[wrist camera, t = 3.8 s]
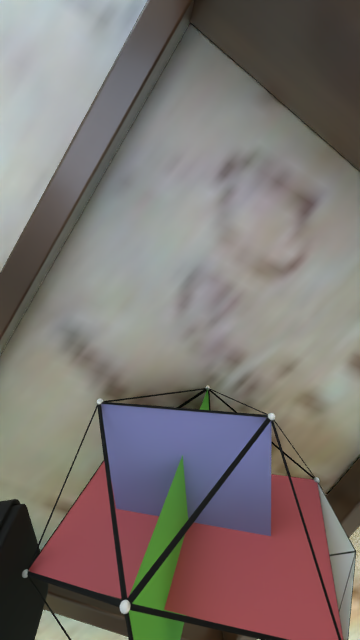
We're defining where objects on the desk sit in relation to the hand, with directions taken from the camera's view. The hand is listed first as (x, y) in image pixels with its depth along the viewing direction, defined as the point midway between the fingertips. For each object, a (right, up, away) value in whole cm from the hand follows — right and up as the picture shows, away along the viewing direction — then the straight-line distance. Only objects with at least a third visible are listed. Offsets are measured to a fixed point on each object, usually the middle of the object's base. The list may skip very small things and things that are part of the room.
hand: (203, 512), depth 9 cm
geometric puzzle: (-1, +1, +3) cm, 3 cm away
